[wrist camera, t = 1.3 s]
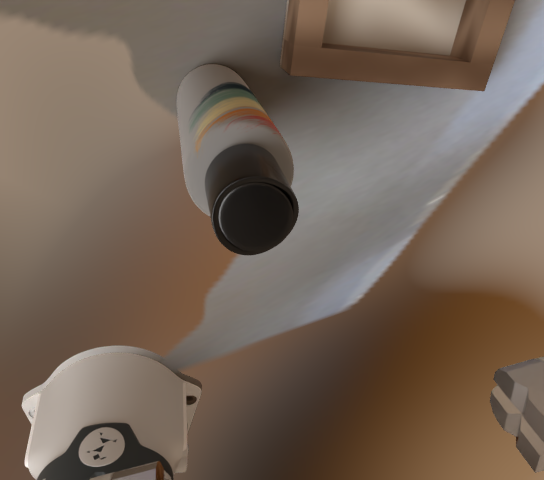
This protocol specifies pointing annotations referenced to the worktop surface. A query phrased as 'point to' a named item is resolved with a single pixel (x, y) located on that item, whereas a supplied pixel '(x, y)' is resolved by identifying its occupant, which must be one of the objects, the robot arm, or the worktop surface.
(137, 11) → the worktop surface
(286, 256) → the worktop surface
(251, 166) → the lotion bottle
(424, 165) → the worktop surface
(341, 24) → the brown square shallow frame
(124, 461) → the robot arm
